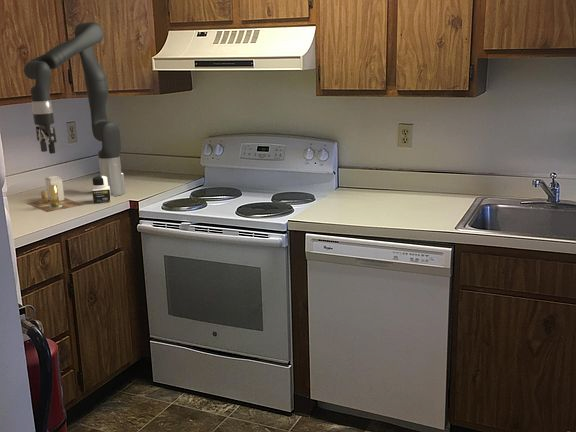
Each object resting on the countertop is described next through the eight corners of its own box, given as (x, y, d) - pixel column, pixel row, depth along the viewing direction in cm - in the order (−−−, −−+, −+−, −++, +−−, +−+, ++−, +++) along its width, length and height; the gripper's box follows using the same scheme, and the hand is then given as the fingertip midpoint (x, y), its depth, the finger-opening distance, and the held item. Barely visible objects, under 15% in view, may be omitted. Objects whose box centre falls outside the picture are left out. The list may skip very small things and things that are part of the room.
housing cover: (59, 197, 285) (56, 175, 282) (64, 199, 280) (61, 177, 278) (48, 199, 282) (44, 177, 279) (53, 201, 277) (50, 178, 275)
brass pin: (57, 205, 269) (54, 184, 267) (60, 206, 267) (58, 185, 264) (50, 206, 267) (47, 185, 265) (53, 207, 264) (50, 186, 262)
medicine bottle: (93, 206, 270) (90, 178, 267) (94, 203, 277) (90, 175, 274) (111, 205, 272) (108, 177, 269) (111, 201, 278) (108, 174, 275)
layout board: (62, 199, 287) (60, 185, 285) (85, 207, 269) (83, 193, 268) (25, 205, 277) (23, 191, 275) (47, 214, 259) (45, 199, 257)
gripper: (59, 112, 254) (64, 152, 258) (45, 110, 265) (50, 149, 269) (40, 114, 249) (45, 155, 254) (27, 112, 260) (32, 152, 264)
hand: (48, 152), depth 261 cm, fingers open, 8 cm apart
